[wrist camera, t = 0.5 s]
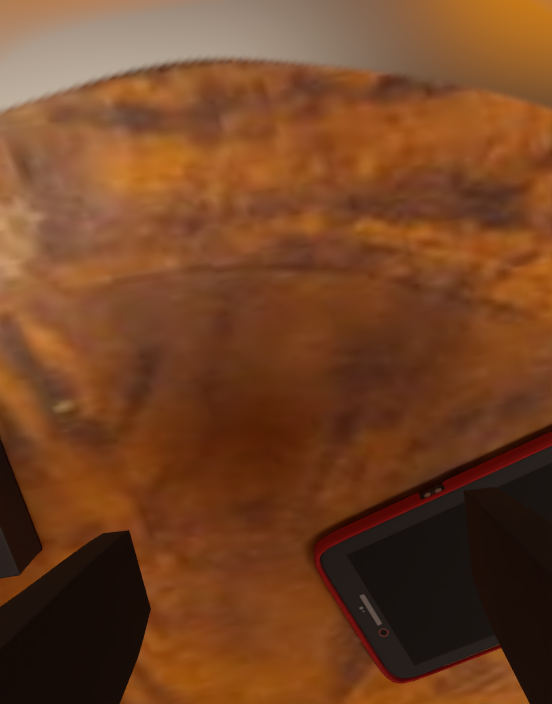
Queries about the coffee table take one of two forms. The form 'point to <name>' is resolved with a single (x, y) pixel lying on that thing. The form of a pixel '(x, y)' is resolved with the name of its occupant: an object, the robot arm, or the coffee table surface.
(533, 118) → the coffee table surface
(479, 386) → the coffee table surface
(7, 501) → the scale
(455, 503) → the cell phone
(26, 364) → the coffee table surface
